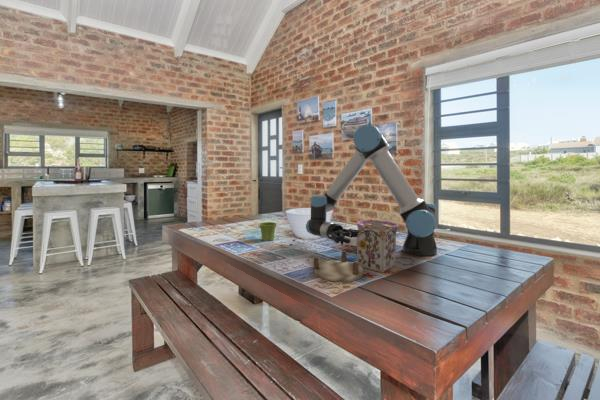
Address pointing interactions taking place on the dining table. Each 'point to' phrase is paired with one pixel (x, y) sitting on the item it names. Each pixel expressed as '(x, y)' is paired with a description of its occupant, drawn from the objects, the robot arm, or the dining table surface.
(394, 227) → the bowl of food
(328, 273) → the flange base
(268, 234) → the plant pot
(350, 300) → the dining table surface
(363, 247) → the decorative jar
